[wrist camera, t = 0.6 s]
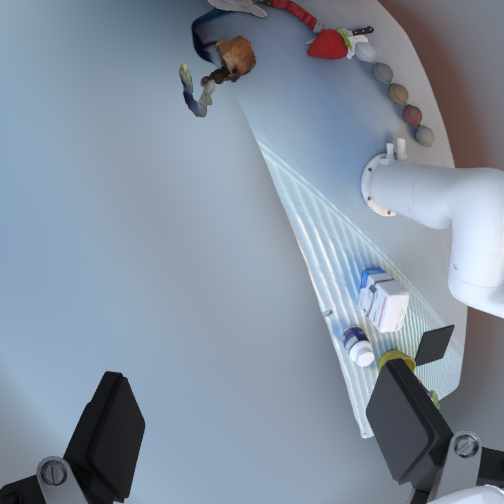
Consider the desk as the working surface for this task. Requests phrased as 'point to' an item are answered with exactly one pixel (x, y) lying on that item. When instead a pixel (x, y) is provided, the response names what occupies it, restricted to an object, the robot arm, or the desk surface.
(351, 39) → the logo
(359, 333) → the pill bottle
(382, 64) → the beads
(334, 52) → the strawberry
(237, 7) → the hand axe
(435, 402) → the seedling
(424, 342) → the mat
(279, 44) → the desk surface
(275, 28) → the desk surface
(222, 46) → the figurine
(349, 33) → the knife
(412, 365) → the flower pot
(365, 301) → the ink box
